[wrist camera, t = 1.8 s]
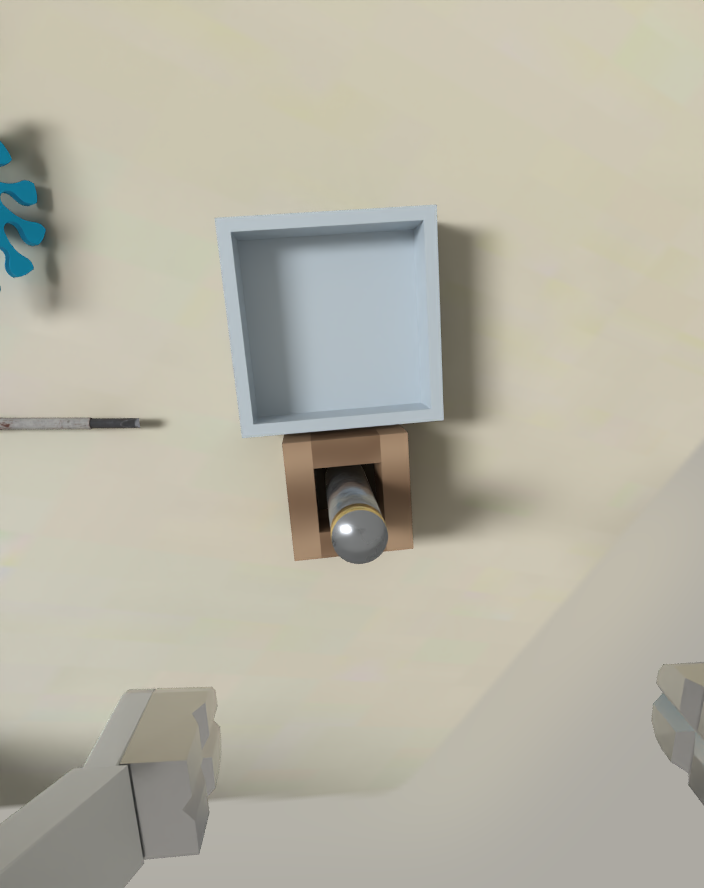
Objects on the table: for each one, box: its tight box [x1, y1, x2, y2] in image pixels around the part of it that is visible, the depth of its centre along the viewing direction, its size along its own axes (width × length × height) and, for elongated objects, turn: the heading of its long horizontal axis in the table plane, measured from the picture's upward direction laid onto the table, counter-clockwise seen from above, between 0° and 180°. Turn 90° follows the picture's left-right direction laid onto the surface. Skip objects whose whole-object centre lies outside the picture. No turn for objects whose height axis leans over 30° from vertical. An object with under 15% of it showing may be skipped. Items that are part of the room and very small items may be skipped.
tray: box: [215, 205, 444, 438], centre depth 33 cm, size 13×13×4 cm
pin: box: [325, 464, 388, 564], centre depth 32 cm, size 3×3×11 cm
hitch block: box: [282, 424, 413, 561], centre depth 35 cm, size 8×8×4 cm
